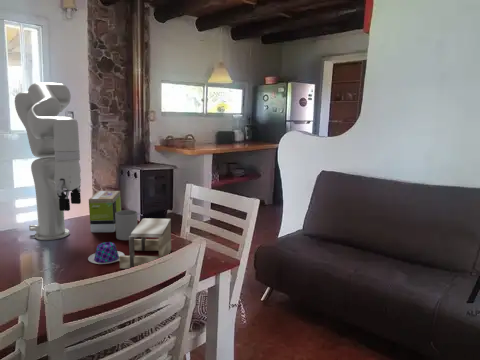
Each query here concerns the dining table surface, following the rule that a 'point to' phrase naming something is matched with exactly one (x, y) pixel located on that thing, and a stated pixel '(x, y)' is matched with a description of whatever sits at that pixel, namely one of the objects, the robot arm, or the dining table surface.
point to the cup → (125, 223)
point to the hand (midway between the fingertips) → (70, 206)
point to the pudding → (105, 253)
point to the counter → (148, 241)
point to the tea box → (104, 210)
